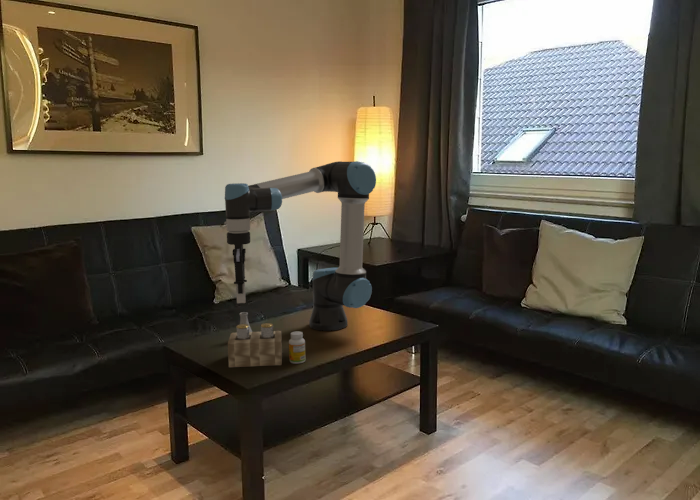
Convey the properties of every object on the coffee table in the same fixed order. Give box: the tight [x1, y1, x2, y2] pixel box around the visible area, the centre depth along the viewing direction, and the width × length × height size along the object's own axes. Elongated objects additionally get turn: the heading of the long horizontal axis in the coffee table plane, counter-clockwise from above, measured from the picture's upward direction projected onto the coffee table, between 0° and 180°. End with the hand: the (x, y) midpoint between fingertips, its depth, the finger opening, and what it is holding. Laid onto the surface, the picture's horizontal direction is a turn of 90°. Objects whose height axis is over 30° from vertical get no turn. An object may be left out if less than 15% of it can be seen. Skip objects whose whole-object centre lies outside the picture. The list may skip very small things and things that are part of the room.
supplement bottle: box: [288, 330, 307, 365], centre depth 206 cm, size 5×5×10 cm
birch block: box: [227, 330, 283, 368], centre depth 208 cm, size 17×12×8 cm
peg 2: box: [260, 322, 274, 339], centre depth 207 cm, size 4×4×8 cm
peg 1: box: [236, 323, 250, 340], centre depth 207 cm, size 4×4×8 cm
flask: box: [239, 311, 253, 332], centre depth 231 cm, size 7×7×10 cm
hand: (241, 302), depth 205 cm, fingers closed
